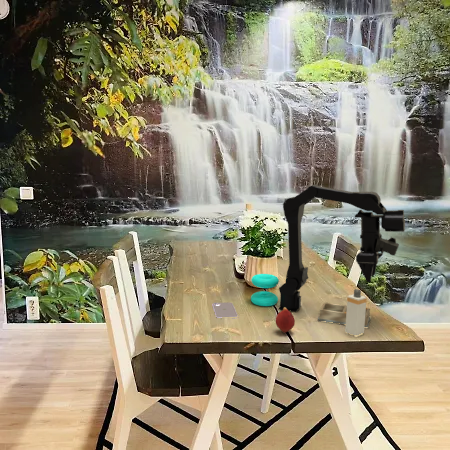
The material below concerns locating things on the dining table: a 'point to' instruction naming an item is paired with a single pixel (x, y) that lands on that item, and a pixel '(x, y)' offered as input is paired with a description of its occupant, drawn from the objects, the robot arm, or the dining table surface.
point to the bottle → (355, 313)
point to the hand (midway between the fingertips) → (370, 278)
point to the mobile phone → (224, 310)
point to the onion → (285, 320)
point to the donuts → (264, 296)
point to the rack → (337, 314)
